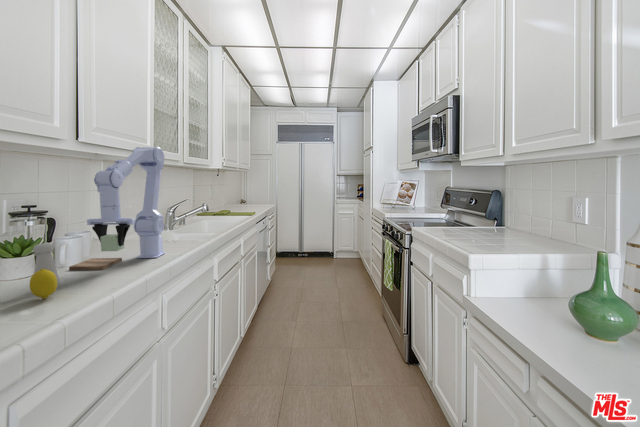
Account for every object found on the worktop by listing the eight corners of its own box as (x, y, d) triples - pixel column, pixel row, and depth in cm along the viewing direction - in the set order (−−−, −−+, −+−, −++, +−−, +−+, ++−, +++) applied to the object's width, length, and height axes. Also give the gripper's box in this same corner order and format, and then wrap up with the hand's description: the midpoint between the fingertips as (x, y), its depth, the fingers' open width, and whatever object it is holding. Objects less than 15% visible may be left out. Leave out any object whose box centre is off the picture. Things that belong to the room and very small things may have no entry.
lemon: (46, 302, 84) (44, 271, 83) (24, 302, 84) (22, 271, 83) (63, 295, 90) (61, 266, 89) (43, 295, 90) (41, 265, 89)
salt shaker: (38, 294, 90) (34, 246, 89) (29, 290, 94) (25, 244, 92) (63, 288, 95) (60, 243, 94) (54, 285, 98) (51, 241, 97)
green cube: (109, 248, 118) (108, 234, 117) (124, 248, 118) (123, 234, 118) (101, 251, 113) (100, 236, 112) (116, 251, 113) (116, 236, 113)
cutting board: (91, 261, 128) (91, 258, 128) (121, 260, 129) (121, 257, 129) (69, 270, 115) (69, 266, 115) (102, 269, 116) (102, 266, 116)
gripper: (80, 207, 110) (83, 248, 111) (126, 206, 111) (129, 247, 112) (93, 205, 117) (95, 244, 118) (136, 205, 118) (138, 243, 119)
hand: (112, 245), depth 115 cm, fingers closed on green cube, 5 cm apart
